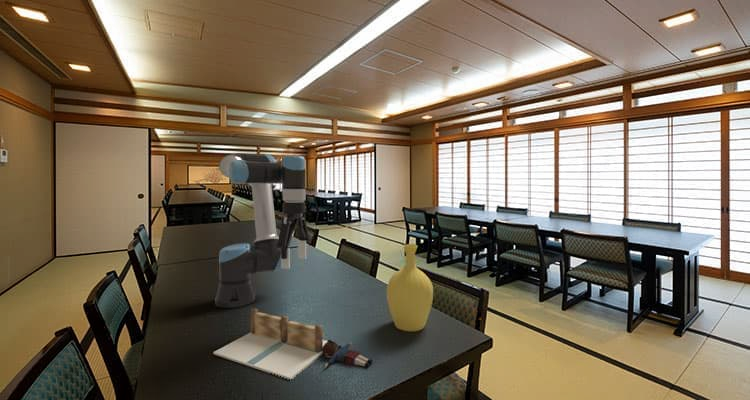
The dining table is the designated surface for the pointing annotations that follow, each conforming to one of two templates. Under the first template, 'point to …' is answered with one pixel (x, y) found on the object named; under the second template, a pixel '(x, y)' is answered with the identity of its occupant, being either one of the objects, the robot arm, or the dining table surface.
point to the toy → (343, 354)
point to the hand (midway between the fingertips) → (294, 263)
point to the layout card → (269, 354)
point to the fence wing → (269, 325)
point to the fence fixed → (306, 335)
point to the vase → (410, 294)
